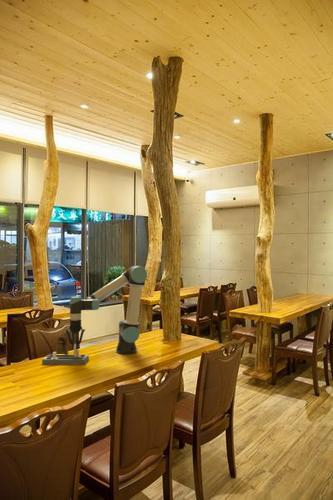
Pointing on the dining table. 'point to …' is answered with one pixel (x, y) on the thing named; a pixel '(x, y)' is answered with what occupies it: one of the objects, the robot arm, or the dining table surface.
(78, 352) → the tab ochre
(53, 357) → the tab ivory
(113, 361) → the dining table surface
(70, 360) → the switch bank
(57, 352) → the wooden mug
